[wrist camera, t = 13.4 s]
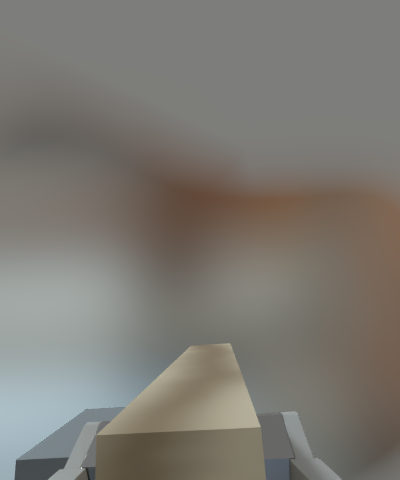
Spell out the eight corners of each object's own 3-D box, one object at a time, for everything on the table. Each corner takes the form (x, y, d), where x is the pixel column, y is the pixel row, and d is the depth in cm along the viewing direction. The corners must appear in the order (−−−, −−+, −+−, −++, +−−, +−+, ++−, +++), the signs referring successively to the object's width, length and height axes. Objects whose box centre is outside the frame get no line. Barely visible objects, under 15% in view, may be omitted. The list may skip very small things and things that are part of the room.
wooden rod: (92, 590, 7) (96, 434, 7) (192, 377, 30) (190, 345, 30) (277, 586, 6) (261, 427, 7) (233, 375, 30) (230, 343, 30)
